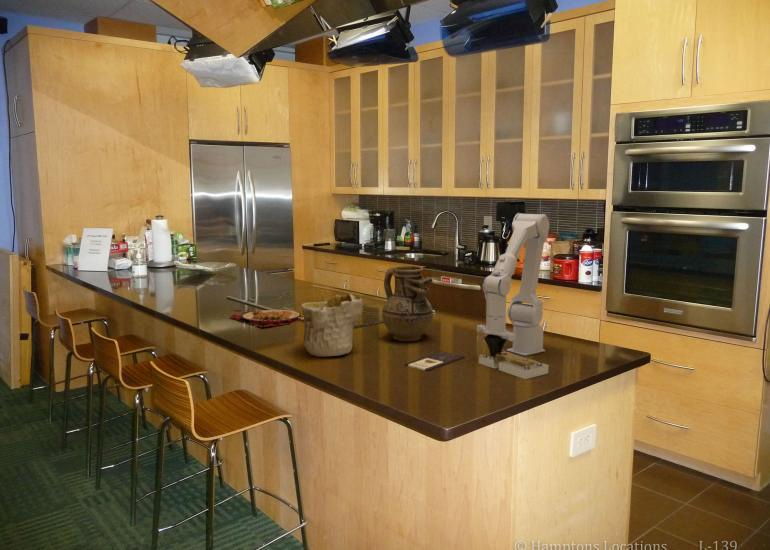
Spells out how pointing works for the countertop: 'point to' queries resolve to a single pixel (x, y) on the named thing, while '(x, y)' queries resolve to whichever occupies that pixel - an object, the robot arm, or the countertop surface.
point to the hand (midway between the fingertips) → (495, 359)
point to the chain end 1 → (489, 360)
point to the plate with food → (268, 317)
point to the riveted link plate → (514, 359)
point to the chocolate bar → (434, 361)
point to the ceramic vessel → (330, 325)
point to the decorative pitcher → (407, 303)
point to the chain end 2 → (524, 369)
